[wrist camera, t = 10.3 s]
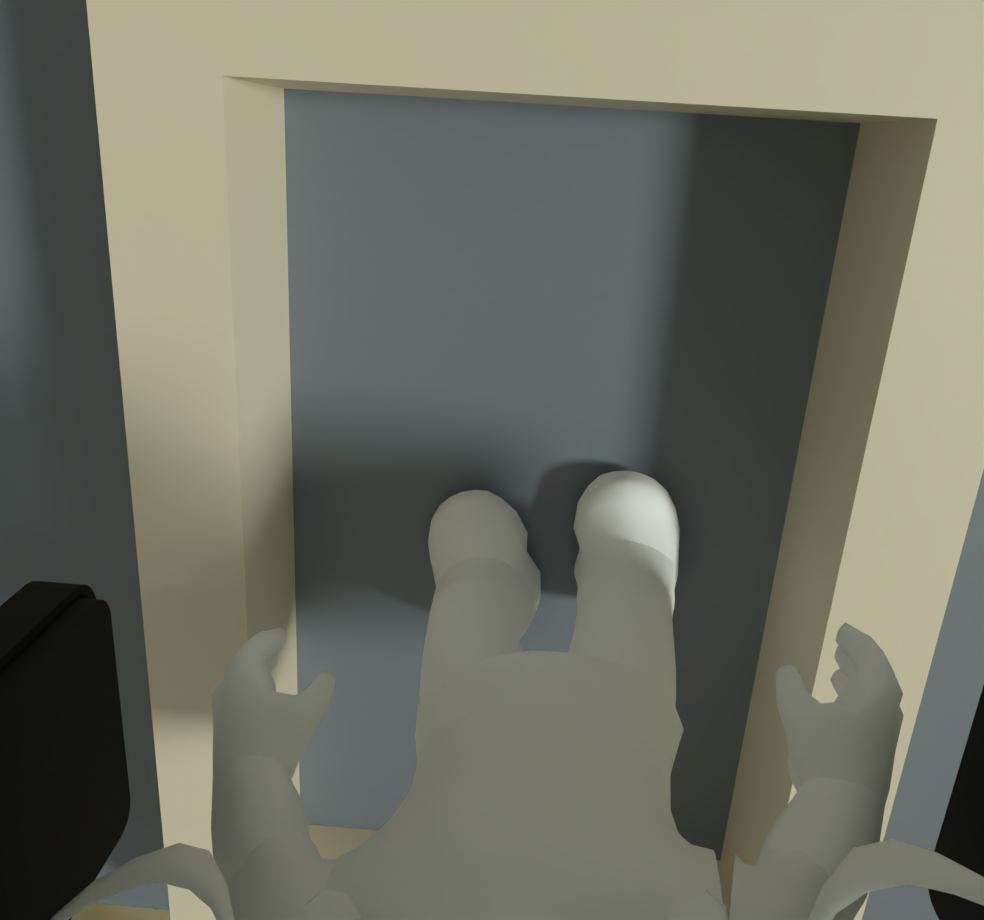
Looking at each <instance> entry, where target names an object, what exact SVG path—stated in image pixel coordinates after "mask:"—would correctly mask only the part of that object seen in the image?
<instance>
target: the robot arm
mask: <svg viewBox="0 0 984 920" xmlns="http://www.w3.org/2000/svg"><path fill="white" fill-rule="evenodd" d="M129 812H130V790H129V780H128V771H127V761H126V752H125V743H124V733H123V724H122V714H121V705H120V695H119V686H118V676H117V667H116V657H115V648H114V638H113V629H112V620H111V612H110V607H109V605H108V604H107V602H106V601H104V600H102V599H96V595H95V593H94V592H93V590H92V588H91V587H89V586H88V585H83V584H70V583H58V582H45V581H31V582H29V583H28V584H26V585H24V586H23V587H22V588H21V589H20V590H19V591H17V592H16V593H15V594H14V595H13V596H12V597H10V598H9V599H8V600H7V601H6V602H4V603H3V604H2V605H1V606H0V920H51V918H52V917H53V916H54V915H55V914H56V913H57V912H58V911H59V910H61V909H62V908H63V907H64V906H65V905H66V904H68V903H69V902H70V901H71V900H72V899H73V898H75V897H76V896H77V895H78V894H79V893H80V892H82V891H83V890H84V889H85V888H86V887H87V886H89V885H90V884H91V883H92V882H94V881H95V879H96V877H97V876H98V874H99V872H100V871H101V869H102V867H103V866H104V864H105V863H106V861H107V859H108V858H109V856H110V854H111V853H112V851H113V849H114V848H115V846H116V844H117V843H118V841H119V840H120V838H121V836H122V834H123V832H124V830H125V827H126V824H127V821H128V817H129ZM934 852H937V853H939V854H941V855H943V856H945V857H947V858H949V859H951V860H952V861H954V862H956V863H958V864H960V865H962V866H964V867H966V868H968V869H970V870H971V871H973V872H975V873H977V874H979V875H981V876H983V877H984V685H983V689H982V692H981V695H980V699H979V702H978V706H977V709H976V712H975V716H974V719H973V722H972V726H971V729H970V732H969V736H968V739H967V743H966V746H965V749H964V753H963V756H962V759H961V763H960V766H959V769H958V773H957V776H956V780H955V783H954V786H953V790H952V793H951V796H950V800H949V803H948V806H947V810H946V813H945V817H944V820H943V823H942V827H941V830H940V833H939V837H938V840H937V843H936V847H935V850H934ZM929 895H930V899H931V903H932V906H933V908H934V910H935V912H936V914H937V916H938V918H939V920H984V906H983V905H981V904H978V903H975V902H973V901H970V900H967V899H965V898H962V897H959V896H957V895H954V894H949V893H945V892H941V891H937V890H933V889H929ZM69 920H71V919H69Z"/></svg>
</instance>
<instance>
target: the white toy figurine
mask: <svg viewBox="0 0 984 920" xmlns="http://www.w3.org/2000/svg"><path fill="white" fill-rule="evenodd" d="M574 531H575V535H576V538H577V541H578V544H579V547H580V548H579V552H578V555H577V559H576V562H575V566H574V575H575V579H576V582H577V586H578V591H577V615H576V622H575V628H574V633H573V636H572V640H571V643H570V647H569V650H568V652H554V651H539V650H533V651H526V652H522V647H521V643H520V639H521V638H522V636H523V635H524V634H525V633H526V631H527V630H528V628H529V626H530V625H531V623H532V621H533V618H534V616H535V613H536V610H537V607H538V605H539V602H540V596H541V575H540V571H539V569H538V568H537V566H536V565H535V563H534V562H533V560H532V559H531V557H530V555H529V554H528V552H527V538H528V532H527V530H526V529H525V527H524V525H523V523H522V521H521V519H520V517H519V516H518V514H517V512H516V511H515V510H514V509H513V508H512V507H511V506H510V505H509V504H508V503H506V502H505V501H504V500H503V499H502V498H500V497H498V496H496V495H495V494H493V493H491V492H489V491H486V490H470V491H463V492H460V493H458V494H455V495H453V496H451V497H449V498H448V499H447V500H445V501H444V502H443V503H442V504H440V505H439V507H438V509H437V510H436V512H435V514H434V516H433V517H432V520H431V525H430V531H429V538H428V547H429V554H430V561H431V565H432V569H433V574H434V579H435V584H436V589H435V592H434V597H433V602H432V606H431V610H430V614H429V620H428V626H427V632H426V637H425V643H424V650H423V657H422V664H421V676H420V690H419V698H420V702H419V704H418V706H417V718H416V731H415V741H416V754H417V768H416V772H415V776H414V780H413V784H412V787H411V789H410V790H409V792H408V794H407V796H406V797H405V799H404V800H403V802H402V803H401V804H400V806H399V807H398V808H397V810H396V811H395V812H394V814H393V815H392V816H391V818H390V819H389V820H388V822H387V823H386V824H385V825H383V826H382V827H381V828H380V829H379V830H378V831H376V832H375V833H374V834H373V835H372V836H371V837H369V838H368V839H367V840H366V841H365V842H364V843H362V844H361V845H360V846H359V847H356V848H354V849H352V850H350V851H348V852H346V853H344V854H342V855H340V856H338V858H337V860H330V859H324V858H321V856H320V854H319V852H318V850H317V847H316V845H315V844H314V843H313V842H312V841H311V839H310V834H309V825H308V818H307V815H306V812H305V809H304V806H303V804H302V801H301V798H300V796H299V794H298V792H297V790H296V788H295V786H294V784H293V782H292V780H291V779H292V777H293V775H294V773H295V770H296V768H297V765H298V762H299V760H300V759H301V757H302V756H303V754H304V753H305V751H306V749H307V747H308V744H309V742H310V739H311V737H312V735H313V733H314V732H315V730H316V729H317V727H318V726H319V724H320V722H321V720H322V719H323V717H324V715H325V713H326V711H327V710H328V708H329V705H330V703H331V698H332V693H333V688H334V683H335V677H334V675H333V674H332V673H330V672H328V671H323V672H320V673H319V674H318V675H317V676H316V678H315V679H314V680H313V682H312V683H311V685H310V686H309V687H308V688H307V689H306V690H305V691H303V692H301V693H298V694H296V695H291V694H286V693H280V692H276V686H275V682H274V680H273V677H272V675H271V672H270V671H271V670H272V669H273V668H274V667H275V666H276V664H277V663H278V652H279V651H281V650H282V649H283V648H284V646H285V644H286V639H287V638H286V633H285V630H284V629H283V628H282V627H280V628H276V629H271V630H267V631H262V632H259V633H258V634H256V635H254V636H253V637H252V638H250V639H249V640H248V641H247V642H245V643H244V645H243V646H242V647H241V648H240V649H239V650H238V652H237V653H236V655H235V656H234V657H233V659H232V660H231V662H230V663H229V665H228V666H227V667H226V669H225V670H224V677H223V679H222V680H221V681H220V683H219V684H218V686H217V687H216V689H215V690H214V692H213V693H212V711H213V783H212V812H211V838H212V850H213V857H212V855H211V853H210V851H209V850H206V849H202V848H198V847H194V846H190V845H186V844H182V843H177V844H174V845H171V846H168V847H165V848H163V849H160V850H157V851H154V852H151V853H148V854H145V855H142V856H139V857H136V858H134V859H132V860H130V861H129V862H127V863H125V864H123V865H122V866H120V867H118V868H116V869H115V870H113V871H111V872H109V873H108V874H106V875H104V876H102V877H101V878H99V879H97V880H95V881H94V882H92V883H91V884H90V885H89V886H87V887H86V888H85V889H84V890H83V891H82V892H80V893H79V894H78V895H77V896H76V897H75V898H73V899H72V900H71V901H70V902H69V903H68V904H66V905H65V906H64V907H63V908H62V909H61V910H59V911H58V912H57V913H56V914H55V915H54V916H53V917H52V918H51V920H69V919H71V918H72V917H73V916H74V915H75V914H77V913H78V912H79V911H80V910H82V909H83V908H84V907H86V906H88V905H91V904H93V903H96V902H98V901H101V900H103V899H105V898H108V897H110V896H113V895H115V894H117V893H120V892H122V891H126V890H129V889H133V888H137V887H141V886H144V885H148V884H152V883H156V882H159V883H163V884H168V885H172V886H176V887H180V888H184V889H188V890H190V891H191V892H192V893H194V894H195V895H196V896H197V897H198V898H199V899H200V900H202V901H203V902H204V903H205V904H206V905H207V906H209V907H210V908H211V910H212V912H213V914H214V916H215V918H216V920H728V917H727V909H726V905H725V904H723V902H722V894H721V886H720V879H719V873H718V867H717V861H716V855H715V852H714V850H712V849H707V848H703V847H699V846H695V845H692V844H690V843H689V842H688V841H687V840H685V839H684V838H683V837H682V836H681V835H680V834H679V832H678V830H677V827H676V824H675V821H674V819H673V816H672V813H671V793H670V775H671V771H672V767H673V764H674V760H675V757H676V753H677V750H678V746H679V743H680V740H681V737H682V733H683V730H684V729H683V726H682V723H681V721H680V718H679V715H678V712H677V710H676V707H675V704H676V662H675V649H674V636H673V623H672V616H673V611H674V603H675V591H674V589H675V585H676V581H677V578H678V563H679V540H680V527H679V522H678V517H677V512H676V507H675V505H674V503H673V502H672V500H671V498H670V496H669V494H668V492H667V490H666V489H665V488H664V487H663V486H662V485H660V484H659V483H658V482H657V481H656V480H655V479H653V478H651V477H649V476H646V475H644V474H641V473H638V472H633V471H628V470H626V471H613V472H609V473H606V474H602V475H600V476H599V477H597V478H596V479H595V480H594V481H593V482H592V483H591V484H590V485H588V487H587V488H586V490H585V491H584V493H583V495H582V496H581V498H580V499H579V501H578V504H577V510H576V515H575V521H574ZM836 642H837V644H838V647H837V649H836V652H835V655H834V657H835V660H836V662H837V664H838V665H839V667H840V669H839V670H836V671H835V672H834V673H833V675H832V677H831V679H830V680H831V682H832V685H833V688H834V689H835V691H836V693H837V694H838V697H837V698H836V700H835V702H830V703H820V702H819V701H817V700H816V699H815V698H814V697H812V696H811V695H810V693H809V692H808V691H807V689H806V688H805V685H804V683H803V680H802V677H801V676H800V674H799V672H798V670H797V669H796V668H795V667H794V666H792V665H787V666H782V667H781V668H779V669H778V670H777V672H776V702H777V706H778V709H779V713H780V717H781V720H782V723H783V726H784V729H785V732H786V735H787V742H788V749H789V757H788V760H787V763H788V769H789V774H790V777H791V780H792V782H793V785H794V787H795V789H796V791H797V792H796V794H795V795H794V797H793V798H792V800H791V801H790V803H789V804H788V805H787V806H786V808H785V809H784V810H783V811H782V813H781V814H780V815H779V816H778V818H777V819H776V821H775V823H774V824H773V826H772V828H771V830H770V831H769V833H768V835H767V836H766V838H765V841H764V844H763V847H762V850H761V853H760V856H759V859H758V862H757V864H756V866H752V865H748V864H744V863H743V862H742V861H741V860H740V859H739V858H738V857H737V855H736V854H735V862H734V873H733V883H732V895H731V906H730V917H729V920H853V919H854V918H855V916H856V915H857V913H858V911H859V910H860V908H861V906H862V905H863V903H864V901H865V900H866V898H867V895H868V892H871V891H876V890H881V889H886V888H892V887H897V886H902V885H907V884H912V885H916V886H920V887H924V888H928V889H933V890H937V891H941V892H945V893H949V894H954V895H957V896H959V897H962V898H965V899H967V900H970V901H973V902H975V903H978V904H981V905H983V906H984V877H983V876H981V875H979V874H977V873H975V872H973V871H971V870H970V869H968V868H966V867H964V866H962V865H960V864H958V863H956V862H954V861H952V860H951V859H949V858H947V857H945V856H943V855H941V854H939V853H937V852H934V851H930V850H927V849H924V848H921V847H918V846H914V845H911V844H908V843H905V842H901V841H898V840H895V839H890V840H885V841H881V842H880V836H881V830H882V823H883V816H884V810H885V804H886V801H887V797H888V794H889V791H890V784H891V778H892V771H893V764H894V758H895V751H896V747H897V743H898V738H899V734H900V730H901V725H902V721H903V717H904V715H903V713H902V710H901V708H900V702H901V699H902V696H903V692H902V690H901V688H900V685H899V683H898V681H897V678H896V676H895V674H894V671H893V669H892V666H891V665H890V663H889V661H888V659H887V657H886V655H885V653H884V652H883V651H882V649H881V648H880V647H879V646H878V644H877V643H876V642H875V641H874V640H873V639H872V638H871V637H870V636H868V635H867V634H865V633H863V632H861V631H860V630H858V629H856V628H854V627H853V626H851V625H849V624H848V623H846V622H845V623H844V624H843V625H842V626H841V627H840V629H839V630H838V632H837V636H836Z"/></svg>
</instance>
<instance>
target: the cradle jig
mask: <svg viewBox="0 0 984 920" xmlns="http://www.w3.org/2000/svg"><path fill="white" fill-rule="evenodd" d="M626 470H628V471H633V472H638V473H641V474H644V475H646V476H649V477H651V478H653V479H655V480H656V481H657V482H658V483H659V484H660V485H662V486H663V487H664V488H665V489H666V490H667V492H668V494H669V496H670V498H671V500H672V502H673V503H674V505H675V507H676V512H677V517H678V522H679V527H680V540H679V563H678V578H677V581H676V585H675V589H674V591H675V603H674V611H673V616H672V623H673V636H674V649H675V662H676V704H675V707H676V710H677V712H678V715H679V718H680V721H681V723H682V726H683V729H684V730H683V733H682V737H681V740H680V743H679V746H678V750H677V753H676V757H675V760H674V764H673V767H672V771H671V775H670V793H671V813H672V816H673V819H674V821H675V824H676V827H677V830H678V832H679V834H680V835H681V836H682V837H683V838H684V839H685V840H687V841H688V842H689V843H690V844H692V845H695V846H699V847H703V848H707V849H712V850H714V852H715V855H716V861H717V867H718V873H719V879H720V886H721V894H722V902H723V904H725V905H726V909H727V917H728V920H729V917H730V906H731V895H732V883H733V873H734V862H735V854H736V855H737V857H738V858H739V859H740V860H741V861H742V862H743V863H744V864H748V865H752V866H756V864H757V862H758V859H759V856H760V853H761V850H762V847H763V844H764V841H765V838H766V836H767V835H768V833H769V831H770V830H771V828H772V826H773V824H774V823H775V821H776V819H777V818H778V816H779V815H780V814H781V813H782V811H783V810H784V809H785V808H786V806H787V805H788V804H789V803H790V801H791V800H792V798H793V797H794V795H795V794H796V792H797V791H796V789H795V787H794V785H793V782H792V780H791V777H790V774H789V769H788V763H787V760H788V757H789V749H788V742H787V735H786V732H785V729H784V726H783V723H782V720H781V717H780V713H779V709H778V706H777V702H776V672H777V670H778V669H779V668H781V667H782V666H787V665H792V666H794V667H795V668H796V669H797V670H798V672H799V674H800V676H801V677H802V680H803V683H804V685H805V688H806V689H807V691H808V692H809V693H810V695H811V696H812V697H814V698H815V699H816V700H817V701H819V702H820V703H830V702H835V700H836V698H837V697H838V694H837V693H836V691H835V689H834V688H833V685H832V682H831V680H830V679H831V677H832V675H833V673H834V672H835V671H836V670H839V669H840V667H839V665H838V664H837V662H836V660H835V657H834V655H835V652H836V649H837V647H838V644H837V642H836V636H837V632H838V630H839V629H840V627H841V626H842V625H843V624H844V623H845V622H846V623H848V624H849V625H851V626H853V627H854V628H856V629H858V630H860V631H861V632H863V633H865V634H867V635H868V636H870V637H871V638H872V639H873V640H874V641H875V642H876V643H877V644H878V646H879V647H880V648H881V649H882V651H883V652H884V653H885V655H886V657H887V659H888V661H889V663H890V665H891V666H892V669H893V671H894V674H895V676H896V678H897V681H898V683H899V685H900V688H901V690H902V692H903V696H902V699H901V702H900V708H901V710H902V713H903V715H904V717H903V721H902V725H901V730H900V734H899V738H898V743H897V747H896V751H895V758H894V764H893V771H892V778H891V784H890V791H889V794H888V797H887V801H886V804H885V810H884V816H883V823H882V830H881V836H880V842H881V841H885V840H890V839H895V840H898V841H901V842H905V843H908V844H911V845H914V846H918V847H921V848H924V849H927V850H930V851H934V850H935V847H936V843H937V840H938V837H939V833H940V830H941V827H942V823H943V820H944V817H945V813H946V810H947V806H948V803H949V800H950V796H951V793H952V790H953V786H954V783H955V780H956V776H957V773H958V769H959V766H960V763H961V759H962V756H963V753H964V749H965V746H966V743H967V739H968V736H969V732H970V729H971V726H972V722H973V719H974V716H975V712H976V709H977V706H978V702H979V699H980V695H981V692H982V689H983V685H984V0H0V606H1V605H2V604H3V603H4V602H6V601H7V600H8V599H9V598H10V597H12V596H13V595H14V594H15V593H16V592H17V591H19V590H20V589H21V588H22V587H23V586H24V585H26V584H28V583H29V582H31V581H45V582H58V583H70V584H83V585H88V586H89V587H91V588H92V590H93V592H94V593H95V595H96V599H102V600H104V601H106V602H107V604H108V605H109V607H110V612H111V620H112V629H113V638H114V648H115V657H116V667H117V676H118V686H119V695H120V705H121V714H122V724H123V733H124V743H125V752H126V761H127V771H128V780H129V790H130V812H129V817H128V821H127V824H126V827H125V830H124V832H123V834H122V836H121V838H120V840H119V841H118V843H117V844H116V846H115V848H114V849H113V851H112V853H111V854H110V856H109V858H108V859H107V861H106V863H105V864H104V866H103V867H102V869H101V871H100V872H99V874H98V876H97V877H96V879H95V880H97V879H99V878H101V877H102V876H104V875H106V874H108V873H109V872H111V871H113V870H115V869H116V868H118V867H120V866H122V865H123V864H125V863H127V862H129V861H130V860H132V859H134V858H136V857H139V856H142V855H145V854H148V853H151V852H154V851H157V850H160V849H163V848H165V847H168V846H171V845H174V844H177V843H182V844H186V845H190V846H194V847H198V848H202V849H206V850H209V851H210V853H211V855H212V857H213V850H212V838H211V812H212V783H213V711H212V693H213V692H214V690H215V689H216V687H217V686H218V684H219V683H220V681H221V680H222V679H223V677H224V670H225V669H226V667H227V666H228V665H229V663H230V662H231V660H232V659H233V657H234V656H235V655H236V653H237V652H238V650H239V649H240V648H241V647H242V646H243V645H244V643H245V642H247V641H248V640H249V639H250V638H252V637H253V636H254V635H256V634H258V633H259V632H262V631H267V630H271V629H276V628H280V627H282V628H283V629H284V630H285V633H286V638H287V639H286V644H285V646H284V648H283V649H282V650H281V651H279V652H278V663H277V664H276V666H275V667H274V668H273V669H272V670H271V671H270V672H271V675H272V677H273V680H274V682H275V686H276V692H280V693H286V694H291V695H296V694H298V693H301V692H303V691H305V690H306V689H307V688H308V687H309V686H310V685H311V683H312V682H313V680H314V679H315V678H316V676H317V675H318V674H319V673H320V672H323V671H328V672H330V673H332V674H333V675H334V677H335V683H334V688H333V693H332V698H331V703H330V705H329V708H328V710H327V711H326V713H325V715H324V717H323V719H322V720H321V722H320V724H319V726H318V727H317V729H316V730H315V732H314V733H313V735H312V737H311V739H310V742H309V744H308V747H307V749H306V751H305V753H304V754H303V756H302V757H301V759H300V760H299V762H298V765H297V768H296V770H295V773H294V775H293V777H292V779H291V780H292V782H293V784H294V786H295V788H296V790H297V792H298V794H299V796H300V798H301V801H302V804H303V806H304V809H305V812H306V815H307V818H308V825H309V834H310V839H311V841H312V842H313V843H314V844H315V845H316V847H317V850H318V852H319V854H320V856H321V858H324V859H330V860H337V858H338V856H340V855H342V854H344V853H346V852H348V851H350V850H352V849H354V848H356V847H359V846H360V845H361V844H362V843H364V842H365V841H366V840H367V839H368V838H369V837H371V836H372V835H373V834H374V833H375V832H376V831H378V830H379V829H380V828H381V827H382V826H383V825H385V824H386V823H387V822H388V820H389V819H390V818H391V816H392V815H393V814H394V812H395V811H396V810H397V808H398V807H399V806H400V804H401V803H402V802H403V800H404V799H405V797H406V796H407V794H408V792H409V790H410V789H411V787H412V784H413V780H414V776H415V772H416V768H417V754H416V741H415V731H416V718H417V706H418V704H419V702H420V698H419V690H420V676H421V664H422V657H423V650H424V643H425V637H426V632H427V626H428V620H429V614H430V610H431V606H432V602H433V597H434V592H435V589H436V584H435V579H434V574H433V569H432V565H431V561H430V554H429V547H428V538H429V531H430V525H431V520H432V517H433V516H434V514H435V512H436V510H437V509H438V507H439V505H440V504H442V503H443V502H444V501H445V500H447V499H448V498H449V497H451V496H453V495H455V494H458V493H460V492H463V491H470V490H486V491H489V492H491V493H493V494H495V495H496V496H498V497H500V498H502V499H503V500H504V501H505V502H506V503H508V504H509V505H510V506H511V507H512V508H513V509H514V510H515V511H516V512H517V514H518V516H519V517H520V519H521V521H522V523H523V525H524V527H525V529H526V530H527V532H528V538H527V552H528V554H529V555H530V557H531V559H532V560H533V562H534V563H535V565H536V566H537V568H538V569H539V571H540V575H541V596H540V602H539V605H538V607H537V610H536V613H535V616H534V618H533V621H532V623H531V625H530V626H529V628H528V630H527V631H526V633H525V634H524V635H523V636H522V638H521V639H520V643H521V647H522V652H526V651H533V650H539V651H554V652H568V650H569V647H570V643H571V640H572V636H573V633H574V628H575V622H576V615H577V591H578V586H577V582H576V579H575V575H574V566H575V562H576V559H577V555H578V552H579V548H580V547H579V544H578V541H577V538H576V535H575V531H574V521H575V515H576V510H577V504H578V501H579V499H580V498H581V496H582V495H583V493H584V491H585V490H586V488H587V487H588V485H590V484H591V483H592V482H593V481H594V480H595V479H596V478H597V477H599V476H600V475H602V474H606V473H609V472H613V471H626ZM96 903H98V904H109V905H120V906H131V907H142V908H153V909H164V910H170V919H171V920H216V918H215V916H214V914H213V912H212V910H211V908H210V907H209V906H207V905H206V904H205V903H204V902H203V901H202V900H200V899H199V898H198V897H197V896H196V895H195V894H194V893H192V892H191V891H190V890H188V889H184V888H180V887H176V886H172V885H168V884H163V883H159V882H156V883H152V884H148V885H144V886H141V887H137V888H133V889H129V890H126V891H122V892H120V893H117V894H115V895H113V896H110V897H108V898H105V899H103V900H101V901H98V902H96ZM853 920H939V918H938V916H937V914H936V912H935V910H934V908H933V906H932V903H931V899H930V895H929V889H928V888H924V887H920V886H916V885H912V884H907V885H902V886H897V887H892V888H886V889H881V890H876V891H871V892H868V895H867V898H866V900H865V901H864V903H863V905H862V906H861V908H860V910H859V911H858V913H857V915H856V916H855V918H854V919H853Z"/></svg>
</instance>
